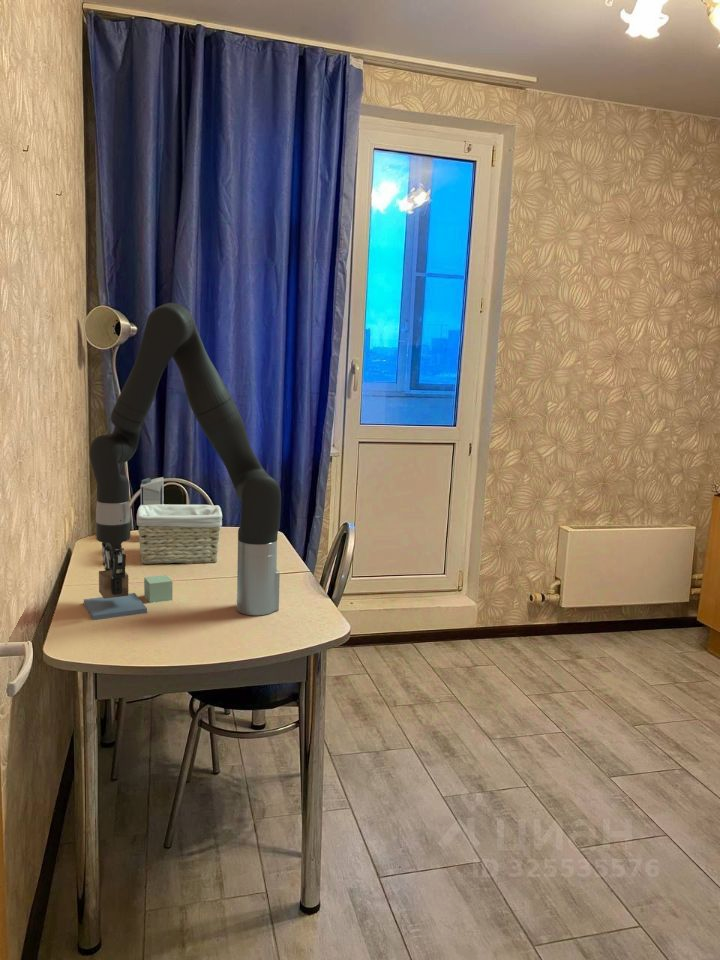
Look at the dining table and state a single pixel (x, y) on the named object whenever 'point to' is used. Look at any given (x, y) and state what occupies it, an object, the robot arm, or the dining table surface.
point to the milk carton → (152, 491)
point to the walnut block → (106, 584)
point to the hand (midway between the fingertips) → (113, 589)
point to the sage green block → (158, 588)
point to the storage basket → (179, 533)
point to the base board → (114, 606)
